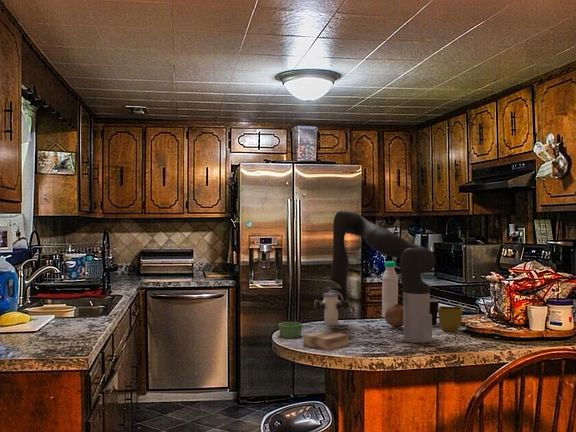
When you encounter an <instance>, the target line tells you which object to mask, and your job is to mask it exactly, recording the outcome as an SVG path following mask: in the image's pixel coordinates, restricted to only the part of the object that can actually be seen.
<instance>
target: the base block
mask: <svg viewBox="0 0 576 432" xmlns="http://www.w3.org/2000/svg"><path fill="white" fill-rule="evenodd" d="M302 344H303V346H306V347H312V348H316V349H322V350H327V351H330V350H333V349H338V348H342V347H345V346H349V334H346V333H341V332H335V331H329V330H319V331H315V332H310V333H306V334H303V338H302Z"/></svg>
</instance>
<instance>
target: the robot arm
mask: <svg viewBox="0 0 576 432" xmlns="http://www.w3.org/2000/svg"><path fill="white" fill-rule="evenodd" d="M332 226H333V227H332V232H333V233H332V238H333V239H332V243H333V244H332V248H333V250H332V253H333V254H332V262H331V269H330V276H329V277H330V278H329V279H330V281H331V282H334V283H336V284H338V285H339V286H340V287H334V286H326V287H325V288H324V290H323V294H322V300H321V301H320V300H319V299H314V301H313V302H314V303H313V304H314V308H315V309H318V310H319V309H321V310H324V293H338V303H337V310H338V311H340V310H341V309H344V310H346V309H348V308H350V307H351V300H350V299H349V294H348V293H349V292H348V284H347V282H348V281H347V280H348V273H349V265H350V262H349V256H348V254H347V253H348V252H347V250H346V246H345V245H346V244H345V236H346V234H350V235H355V236H358V237H360V238H363V239H364V241H365V243H366V244H367V246H368V247H369V248H371V249H372V250H375V251H376V252H377V253H380V254H382V255H385V256H389V257H392V258H397V259H400V279H401V280H400V282H401V285H402V287H403V291H402V292H403V295H402V296H403V299H402V300H403V301H402V302H403V303H402V304H403V305H402V306H403V326H402V327H403V330H402V331H403V332H402V335H403V336H402V337H403V341H405V342H407V343H416V344H426V343H431V342H432V341H433V326H432V314H430V299H431V295H430V294H431V287H430V285H429V284H428V283H426V282H424V281H423V280H422V275H421V274H425V273H429V272H431V271H432V270H433V269H434V268H435V266H436V257H435V255H434V253H433V252H432V250H430V249H429V248H427V247H424V246H421V245H418V244H415V243H413V242H411V241H409V240H406V239H405V238H403V237H401V236H399V235H397V234H395V233H394V232H392V231H390V230H388V229H386V228H384V227H383V226H380V225H378V224H376V223H373V222H371V221H369V220H367V218H365V217H364V216H362V215H361V214H359V213H357V212H355V211H350V210H339V211H337V212H336V213H335V214H334V218H333V223H332Z"/></svg>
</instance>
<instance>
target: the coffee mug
mask: <svg viewBox="0 0 576 432" xmlns="http://www.w3.org/2000/svg"><path fill="white" fill-rule="evenodd" d="M439 303H440V300H438V299H434V298H430V314H432V327H434V326H436V325H437V322H438V308H439Z"/></svg>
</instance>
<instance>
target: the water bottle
mask: <svg viewBox="0 0 576 432" xmlns="http://www.w3.org/2000/svg"><path fill="white" fill-rule="evenodd" d="M384 268H385V271H384V272H383V274H382V276H381V280H382V283H381V284H382V286H381V298H382V301H381V308H382V310H381V317H382V318H384V319H386V318H385V313H386V311H387V309H388V308H390V307H392V306H394V304H396V303H398V300H399V299H398V297H399V283H398V280H399V277H398V274H397V272H396V270H395V268H396V262H395V261H385V262H384ZM398 304H399V303H398Z"/></svg>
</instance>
